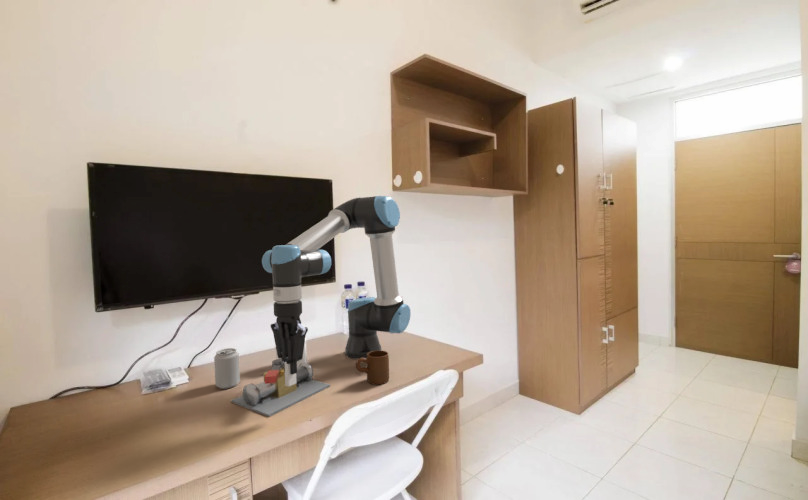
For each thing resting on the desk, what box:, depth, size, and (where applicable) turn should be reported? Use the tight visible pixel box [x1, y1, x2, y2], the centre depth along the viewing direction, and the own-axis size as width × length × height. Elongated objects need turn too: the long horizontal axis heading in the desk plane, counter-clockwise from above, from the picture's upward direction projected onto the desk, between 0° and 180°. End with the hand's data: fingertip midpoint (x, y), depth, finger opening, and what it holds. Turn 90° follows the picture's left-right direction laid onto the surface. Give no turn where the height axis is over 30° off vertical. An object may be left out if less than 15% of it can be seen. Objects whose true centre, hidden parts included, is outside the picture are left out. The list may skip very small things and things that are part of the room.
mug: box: [355, 350, 390, 386], centre depth 129 cm, size 12×8×9 cm, turn 121°
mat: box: [230, 378, 331, 418], centre depth 122 cm, size 24×18×1 cm
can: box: [213, 348, 241, 390], centre depth 129 cm, size 8×8×12 cm
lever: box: [265, 358, 284, 384], centre depth 116 cm, size 15×4×2 cm, turn 7°
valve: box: [242, 361, 314, 406], centre depth 122 cm, size 22×7×8 cm, turn 147°
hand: (290, 384), depth 107 cm, fingers closed
